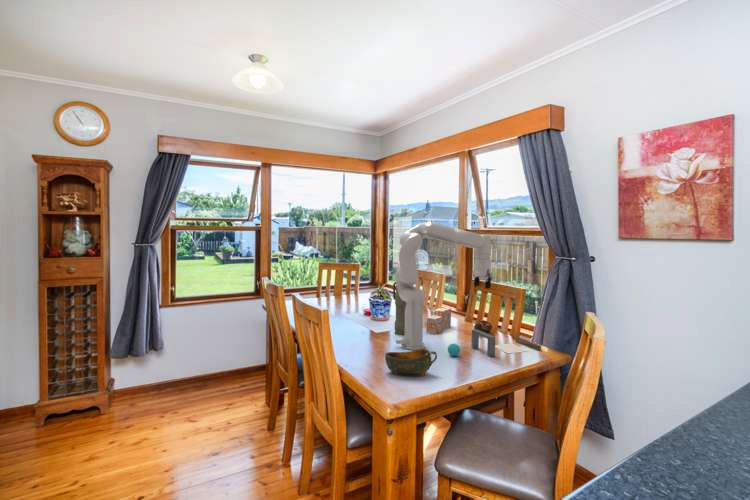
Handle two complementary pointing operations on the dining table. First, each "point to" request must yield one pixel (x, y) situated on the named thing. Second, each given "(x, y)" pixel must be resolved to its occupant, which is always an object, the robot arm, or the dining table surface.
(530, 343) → the stopper wall
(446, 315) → the stack of blocks
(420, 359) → the cup
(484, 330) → the decorative turtle
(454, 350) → the ball
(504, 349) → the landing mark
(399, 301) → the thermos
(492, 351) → the bridge
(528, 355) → the dining table surface
